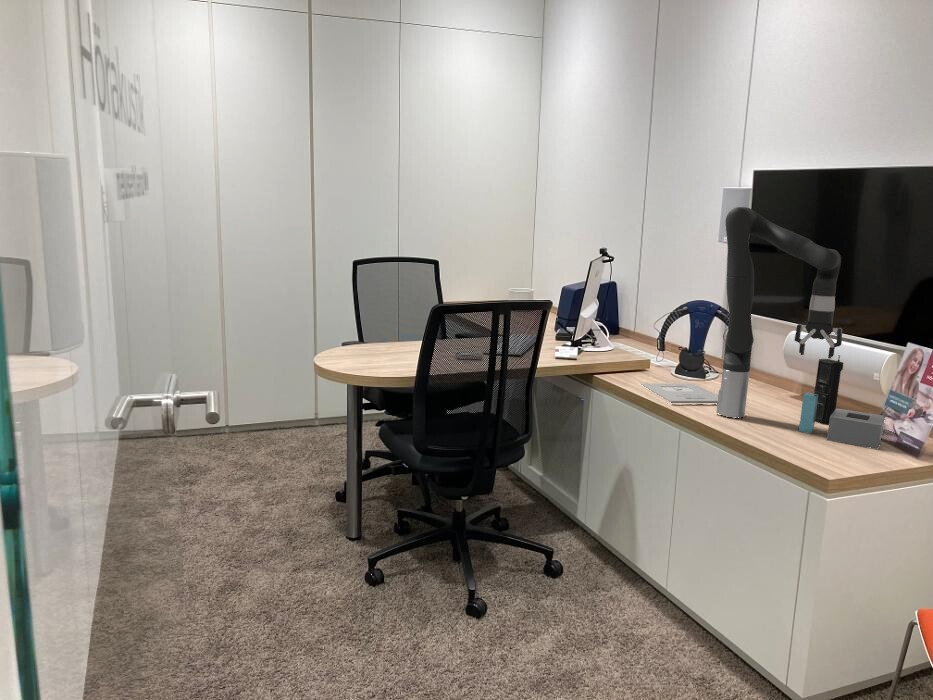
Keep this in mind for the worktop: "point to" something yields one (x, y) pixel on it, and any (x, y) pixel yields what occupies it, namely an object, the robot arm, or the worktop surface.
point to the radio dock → (855, 428)
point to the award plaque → (682, 393)
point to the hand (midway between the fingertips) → (815, 356)
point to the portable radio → (827, 388)
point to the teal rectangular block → (808, 412)
